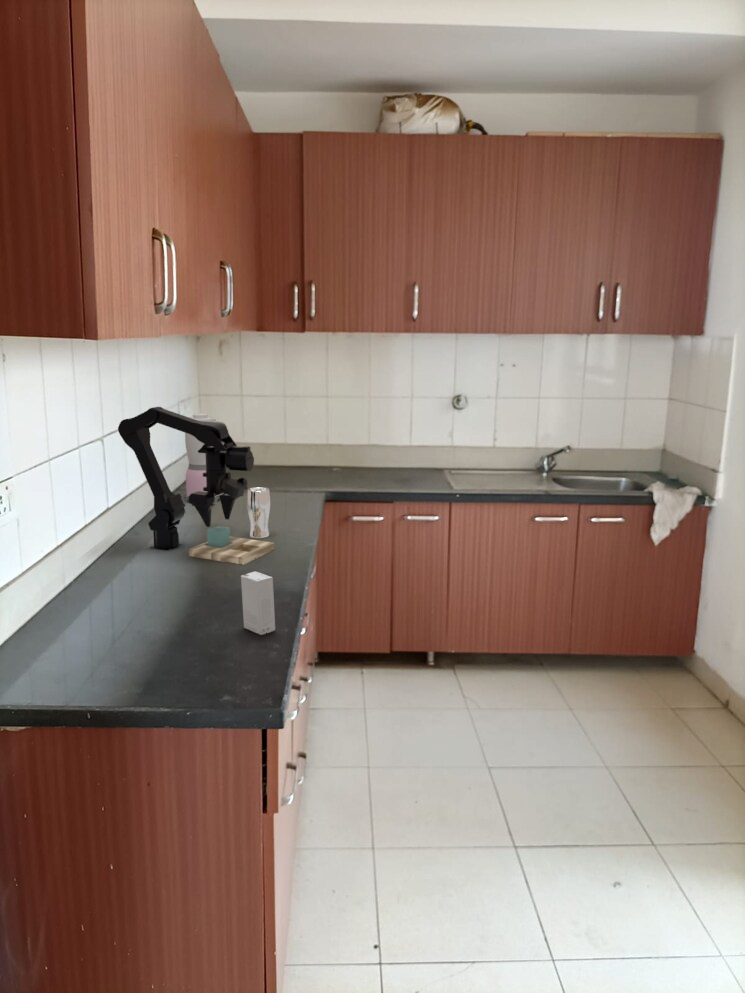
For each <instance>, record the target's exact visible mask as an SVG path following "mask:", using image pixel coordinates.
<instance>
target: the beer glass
mask: <svg viewBox="0 0 745 993" xmlns="http://www.w3.org/2000/svg"><path fill="white" fill-rule="evenodd" d="M246 500H247V502H246V503H247V504H246V505H247V512H248V513H247V514H248V517H249V522H250V523H249V524H250V530H249V531H250V532H249V537H250V538H253V539H262V538H263V539H265V538H268V537H269V536H270V532H269V519H270V518H269V517H270V511H271V496H270V488H268V487H262V486H261V487H259V486H257V487H250V488H249V487H248V489H247V497H246Z"/></svg>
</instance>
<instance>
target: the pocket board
mask: <svg viewBox="0 0 745 993" xmlns="http://www.w3.org/2000/svg"><path fill="white" fill-rule="evenodd" d="M272 550H273V551H274V550H275V542H271V541H264V540H259V539H258V540H257V539H249V538H244V537H237V536H231V535H230V544H229V545H227V546H225V547H223V548H219V547H212V546H208V540H207V541H206V542H203V543H200V544H198V545H195V546H193V547H191V548H189V549H188V556H189V557H193V558H198V559H204V560H209V561H216V562H224V563H228V562H229V564H234V563H235V565H241V564H242V566H244V565H246V564H248V563H250V562H253V561H254V560H256V559H258V558H260V557H262V556H265V555H266V554H268V553H271V552H273V551H272ZM255 558H256V559H255Z"/></svg>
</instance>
